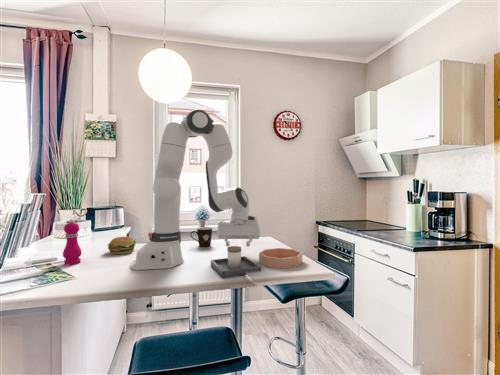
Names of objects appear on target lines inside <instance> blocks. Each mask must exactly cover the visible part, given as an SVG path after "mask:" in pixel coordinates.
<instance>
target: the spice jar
mask: <svg viewBox="0 0 500 375" xmlns="http://www.w3.org/2000/svg"><path fill="white" fill-rule="evenodd" d="M226 251H227V258H228V268H231V269H237V268H240V267H241V257H242V246H238V245H232V246H230V245H229V246H227V250H226Z"/></svg>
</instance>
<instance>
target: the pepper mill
mask: <svg viewBox="0 0 500 375" xmlns="http://www.w3.org/2000/svg"><path fill="white" fill-rule="evenodd" d="M63 231H64V232H65V238H66V242H65V247H64V249H63V251H62V257H63V258H64V261H63V263H64V265H65V266H74V265H78V264H81V258H80V257H81V255H82V248H81V247H80V245H79V243H78V237H79V233H78V232H79V231H80V225H79V224H78V223H76V222H75V220H74V219H73V218H71V219H69V221H68V223H67V224H65V225H64V227H63Z"/></svg>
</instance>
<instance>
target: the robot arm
mask: <svg viewBox="0 0 500 375" xmlns="http://www.w3.org/2000/svg"><path fill="white" fill-rule="evenodd" d="M228 134H229V133H228V132H227V129H226V127H225V126H224V125H223V124H222V123H221V122H215V120H213V119H212V118H211V116H210V115H209V114H208V113H207V112H206V111H205V110H204V109H200V108H198V109H193V110H191V111H189V113H187V114H186V115H185V116H184V118H183V120H182V121H170V122H168V123H166V125H165V127H164V130H163V134H162V137H161V140H160V141H161V142H160V147H159V152H158V159H157V165H156V169H155V170H156V171H155V174H154V179H153V180H154V181H153V184H152V185H153V186H152V190H153V194H154V197H153V198H154V199H153V200H154V203H153V204H154V205H153V206H154V207H153V208H154V209H153V210H154V211H153V220H154V221H153V232H152V231H150V232H148V233H147V236H148V237H149V238H148V239H149V241H148V242H146V243H145V244H144V245H143V246H142V247H140V248H138V249H139V250H138V251H137V253H136V255H135V256H136V257H135V260H133V261H131V263H130V268H131V269H132V270H134V271H144V270H161V269H172V268H174V267H176V266H178V265H181V264H183V263H184V257H183V254H182V248H181V243H182V242H181V241H182V233H181V230H180V229H181V228H180V226H181V225H180V224H181V223H180V212H181V208H180V207H181V196H182V194H181V193H182V190H181V189H182V188H181V183H180V177H181V174H182V171H183V166H184V162H185V156H186V149H187V142H188V139H189V138H197V137H202V138H203V139H204V140H205V143H206V145H207V149H208V159H207V160H206V162H205V173H206V185H207V194H208V196H207V198H208V206H209V208H210V209H211V210H212V211H214V212H215V213H221V212H223V211H225V210H231V214H230V221H229V220H227V221H220V222H219V223H218V224H217V231H216V236H217V238H218V239H219V240H224V242H225V247H230V245H231V244H230V241H228V240H247V241H246V247H251V243H252V242H253V240H259V239H260V237H261V234H260V233H261V231H260V225H259V222H258V218H257V217H256V216H253V215H250V214H249V213H250V201H249V196H248V194H247V193H246V191H245V190H243V189H242V187H241V188H240V187H238V186H236V187H235V186H234V187H232V188H227V189H224V190H219V188H218V181H217V173H218V171H219V170H220V169H221V168H223V167H224V166H225V165H226V164H228V163H229V162H230V160H231V159H232V156H233V146H232V143H231V141H230V137H229V135H228Z"/></svg>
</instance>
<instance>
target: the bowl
mask: <svg viewBox="0 0 500 375" xmlns="http://www.w3.org/2000/svg"><path fill="white" fill-rule="evenodd" d="M258 262H259V264H261V265H263V266H265V267H268V268H275V269H289V268H296V267H299V266H300V265H301V264H302V263H303V252H301V251H299V250H296V249H294V248H286V247H285V248H283V247H277V248H267V249H266V248H265V249H264V250H262V251H260V252H259V253H258Z"/></svg>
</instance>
